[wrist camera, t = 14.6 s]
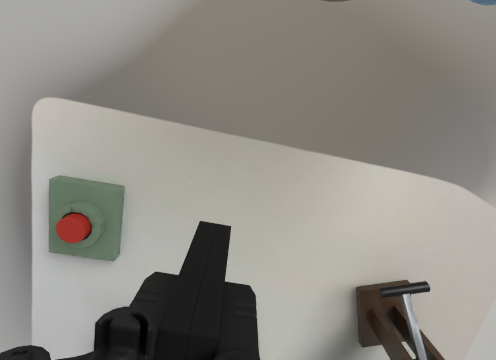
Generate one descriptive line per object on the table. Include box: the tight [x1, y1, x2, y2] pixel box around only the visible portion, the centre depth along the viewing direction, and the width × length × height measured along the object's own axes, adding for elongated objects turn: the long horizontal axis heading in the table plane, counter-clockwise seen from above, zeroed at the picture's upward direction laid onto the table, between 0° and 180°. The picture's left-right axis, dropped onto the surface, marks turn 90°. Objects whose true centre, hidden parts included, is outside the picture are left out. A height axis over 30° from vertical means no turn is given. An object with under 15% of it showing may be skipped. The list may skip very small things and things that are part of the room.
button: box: [56, 213, 91, 243], centre depth 40 cm, size 4×4×2 cm
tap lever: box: [378, 281, 430, 360], centre depth 39 cm, size 13×7×2 cm, turn 8°
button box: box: [49, 176, 124, 261], centre depth 42 cm, size 12×10×4 cm
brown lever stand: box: [356, 280, 445, 360], centre depth 43 cm, size 12×9×14 cm
